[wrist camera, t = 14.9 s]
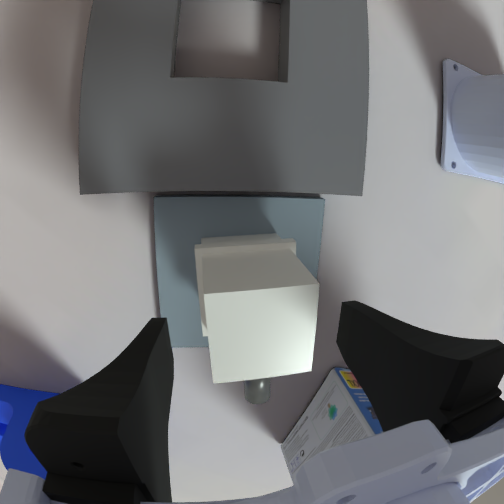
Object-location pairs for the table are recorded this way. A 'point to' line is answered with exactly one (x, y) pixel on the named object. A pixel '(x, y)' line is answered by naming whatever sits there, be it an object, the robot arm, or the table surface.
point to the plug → (256, 309)
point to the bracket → (19, 428)
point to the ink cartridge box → (331, 420)
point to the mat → (219, 225)
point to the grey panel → (224, 106)
